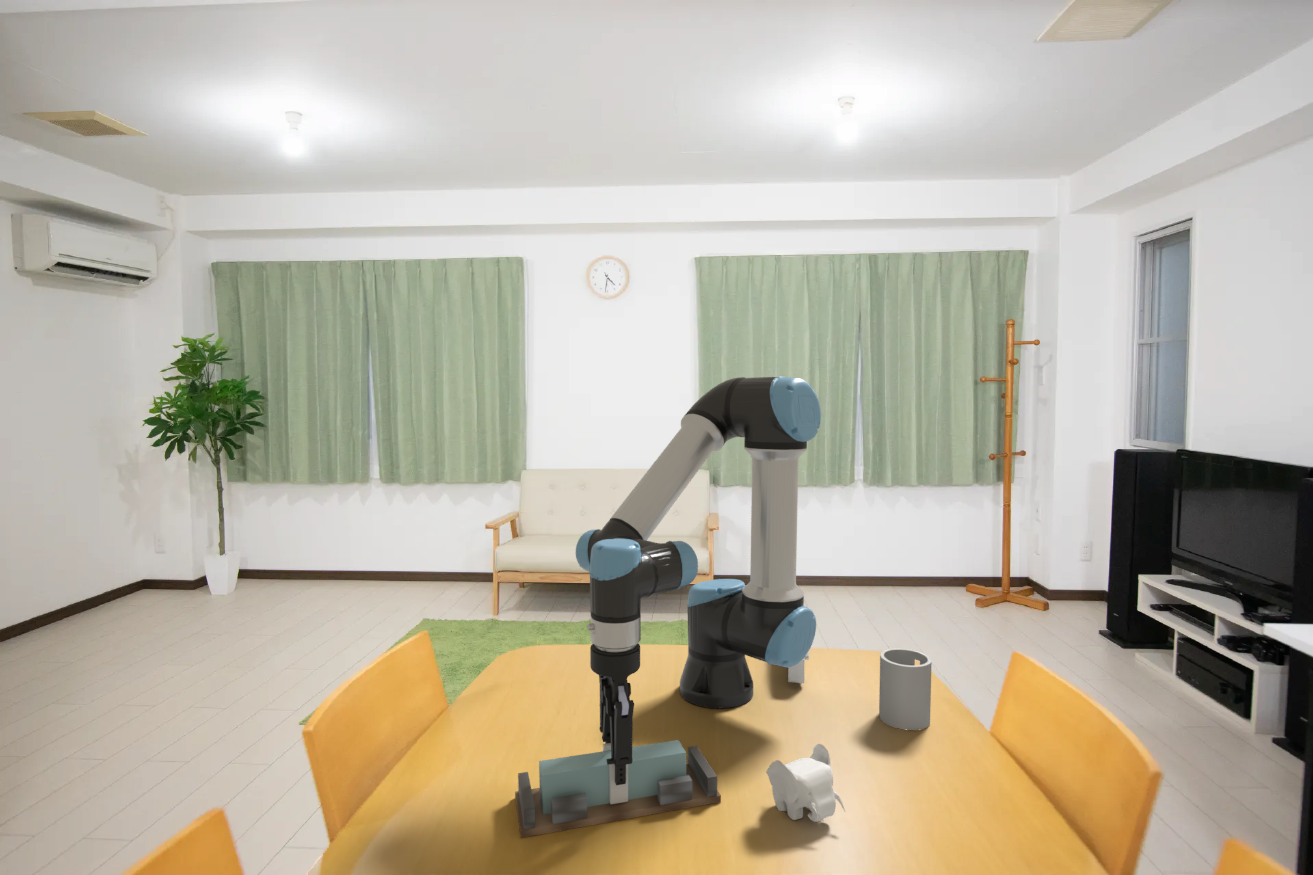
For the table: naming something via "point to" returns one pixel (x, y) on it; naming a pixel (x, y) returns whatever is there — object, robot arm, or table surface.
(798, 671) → the shelf bracket
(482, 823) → the table surface
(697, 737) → the table surface
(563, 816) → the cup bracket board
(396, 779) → the table surface
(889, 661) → the cup
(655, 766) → the rail
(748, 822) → the table surface
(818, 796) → the elephant figurine
